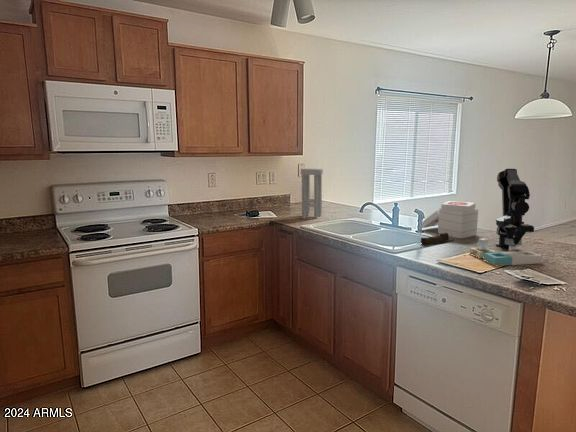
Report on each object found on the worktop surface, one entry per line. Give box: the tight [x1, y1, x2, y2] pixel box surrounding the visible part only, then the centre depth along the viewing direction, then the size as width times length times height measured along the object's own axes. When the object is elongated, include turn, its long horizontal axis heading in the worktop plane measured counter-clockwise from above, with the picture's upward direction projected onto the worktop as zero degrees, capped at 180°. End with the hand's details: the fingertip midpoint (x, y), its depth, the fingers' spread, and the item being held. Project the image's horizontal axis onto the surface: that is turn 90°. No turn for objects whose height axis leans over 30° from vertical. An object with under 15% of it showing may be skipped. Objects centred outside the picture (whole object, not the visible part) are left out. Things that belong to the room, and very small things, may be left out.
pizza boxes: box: [421, 200, 479, 239], centre depth 235 cm, size 19×30×18 cm, turn 33°
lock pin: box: [477, 238, 489, 251], centre depth 188 cm, size 3×3×8 cm
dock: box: [483, 250, 543, 266], centre depth 178 cm, size 8×22×4 cm, turn 98°
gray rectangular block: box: [505, 237, 523, 252], centre depth 189 cm, size 4×6×7 cm
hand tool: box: [420, 233, 450, 246], centre depth 213 cm, size 19×4×5 cm, turn 116°
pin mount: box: [469, 246, 497, 259], centre depth 188 cm, size 8×8×3 cm
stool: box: [300, 167, 324, 219], centre depth 290 cm, size 16×16×35 cm
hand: (512, 243), depth 189 cm, fingers closed on gray rectangular block, 4 cm apart
